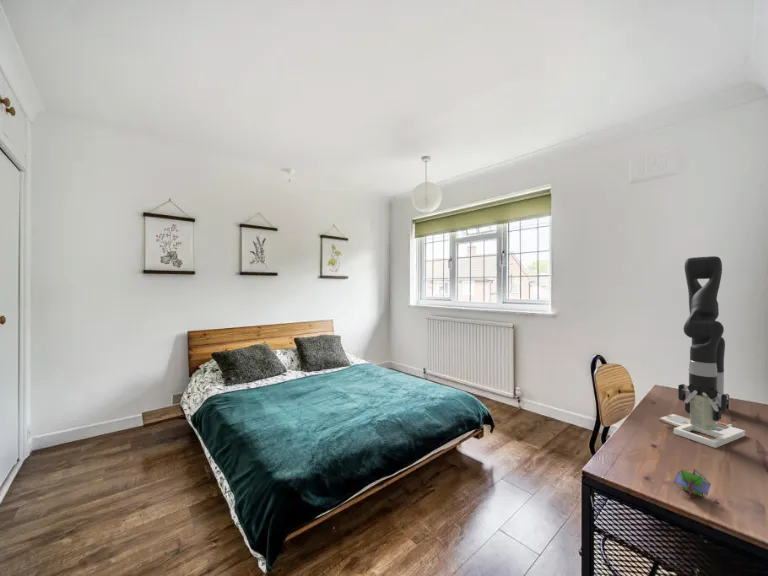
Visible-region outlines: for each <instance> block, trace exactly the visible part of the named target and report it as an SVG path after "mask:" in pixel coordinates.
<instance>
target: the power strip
mask: <svg viewBox="0 0 768 576" xmlns="http://www.w3.org/2000/svg"><path fill="white" fill-rule="evenodd" d="M691 431H695V432H698V433H701V434H704V435H708V436H711V437H714V438H713V439H711V438H708V437H705V436H703V435H702V436H701V435H699V434H696V433H693V432H691ZM673 435H677V436H679V437H682V438H685V439H689V440H692V441H694V442H697V443H699V444H703V445H706V446H708V447H712V448H715V449H716V448H719V447H720V446H723V445H726V444H728V443H730V442H734V441H736V440H738V439H740V438H743V437H745V436H746V430H745V429H744V430H743V429H741V428H738V427H733V424H732V423H729V424H727V423H724V422H721V421H716V430H715V431H705V430H703V429H700V428H698V427H696V426H694V425H692V424H690V423H688V424H685V425H682V426H679V427H677V426H675V427H674V428H673Z"/></svg>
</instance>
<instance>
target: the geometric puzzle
mask: <svg viewBox="0 0 768 576" xmlns="http://www.w3.org/2000/svg"><path fill="white" fill-rule="evenodd" d="M690 470H693V472H692V473H691V472H688V471H689V469H686V470H684V469H680V471H678V472H677V474H676V476H675V479H674V481H673V483H674V484H676V485H677V487H680V486H681V489H682V488H683V489H686V490H685V491H687V490H688V496H689V497H690V499H692V498H693V496H692V494H695V493H696V494H695V495H697V494H698V495H697V496H696V498H700V495H702V496H703V497H706V496H708V494H709V491H710V487H711V484H712V483H710V481H709V479H708V478H707V477H706V475H705V474H703V473H702V472H700V471H698V470H697V469H695V468H693V469H690ZM683 489H682V490H683ZM692 492H693V493H692ZM691 496H692V497H691ZM702 496H701V497H702ZM689 497H688V498H689Z"/></svg>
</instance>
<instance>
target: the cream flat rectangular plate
mask: <svg viewBox="0 0 768 576" xmlns="http://www.w3.org/2000/svg"><path fill="white" fill-rule="evenodd" d="M658 421H660V422H662V423H666V424H668V425H671V426H674V427H679V426H682V425H685V424H688V423H690V417H689V418H688V417H686V416H682V415H679V414H675V413H672V414H669V415H665V416H661V417H659V418H658Z"/></svg>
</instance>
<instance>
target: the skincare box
mask: <svg viewBox="0 0 768 576" xmlns="http://www.w3.org/2000/svg"><path fill="white" fill-rule="evenodd" d="M690 394H691V393H690V392H689V395H690ZM711 400H712V401H713V402H716V398H713V399H711ZM714 411H715V410H714V409H713V407H712V406H711V405H710V404H709V398H708V397H704V396H701V395H695V396H694V397H693V398H692V400H691V401H690V414H689V419H690V424H692V425H694V426H696V427H698V428H700V429H703V430H705V431H715V430H716V422H717V421H714Z"/></svg>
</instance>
